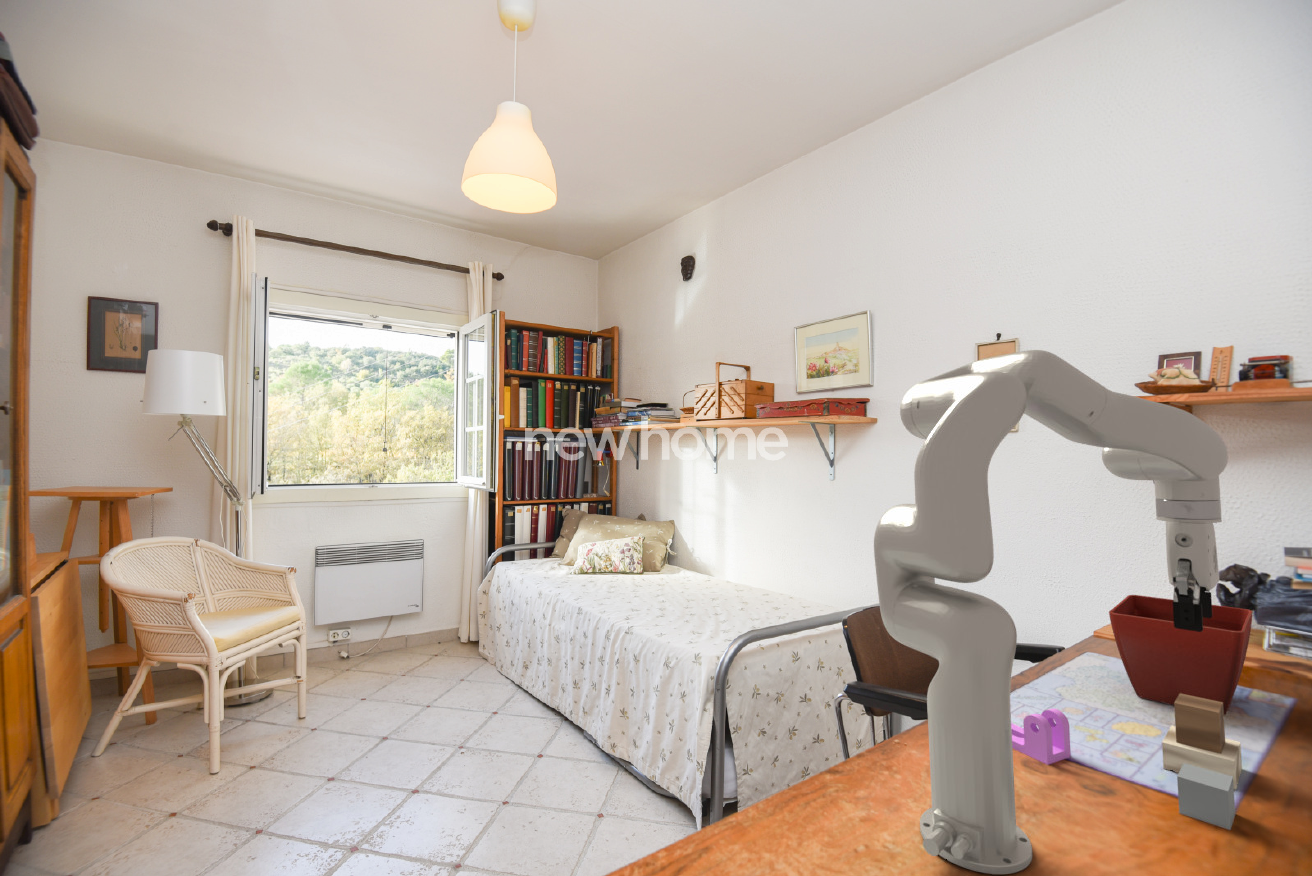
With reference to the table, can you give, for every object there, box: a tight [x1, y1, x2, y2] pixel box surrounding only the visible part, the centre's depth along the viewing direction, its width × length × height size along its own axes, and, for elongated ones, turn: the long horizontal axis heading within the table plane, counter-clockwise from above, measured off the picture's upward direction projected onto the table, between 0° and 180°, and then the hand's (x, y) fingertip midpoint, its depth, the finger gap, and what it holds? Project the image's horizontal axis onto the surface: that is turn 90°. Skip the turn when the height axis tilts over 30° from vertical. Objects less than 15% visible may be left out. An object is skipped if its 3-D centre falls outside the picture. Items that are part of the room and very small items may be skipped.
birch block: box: [1161, 724, 1243, 790], centre depth 91 cm, size 8×8×4 cm
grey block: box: [1176, 763, 1236, 831], centre depth 80 cm, size 5×5×5 cm
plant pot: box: [1108, 594, 1254, 716], centre depth 116 cm, size 19×19×17 cm
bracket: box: [1011, 708, 1072, 766], centre depth 101 cm, size 13×6×7 cm, turn 23°
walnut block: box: [1173, 693, 1226, 754], centre depth 91 cm, size 5×5×6 cm
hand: (1193, 622), depth 91 cm, fingers open, 9 cm apart
